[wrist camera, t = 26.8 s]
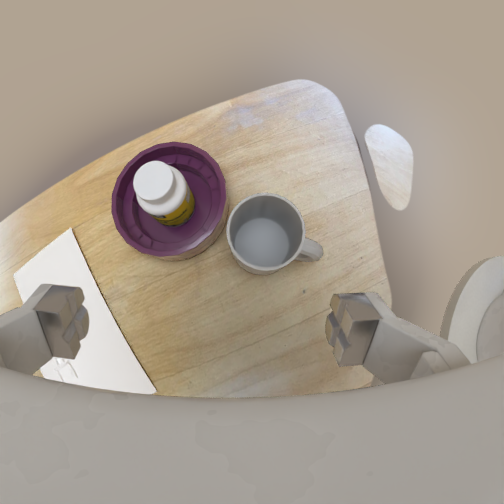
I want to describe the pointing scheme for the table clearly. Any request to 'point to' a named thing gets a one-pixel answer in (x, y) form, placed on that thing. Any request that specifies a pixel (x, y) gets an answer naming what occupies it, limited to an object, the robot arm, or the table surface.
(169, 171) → the supplement bottle
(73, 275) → the paper
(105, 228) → the table surface
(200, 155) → the bowl
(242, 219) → the cup
